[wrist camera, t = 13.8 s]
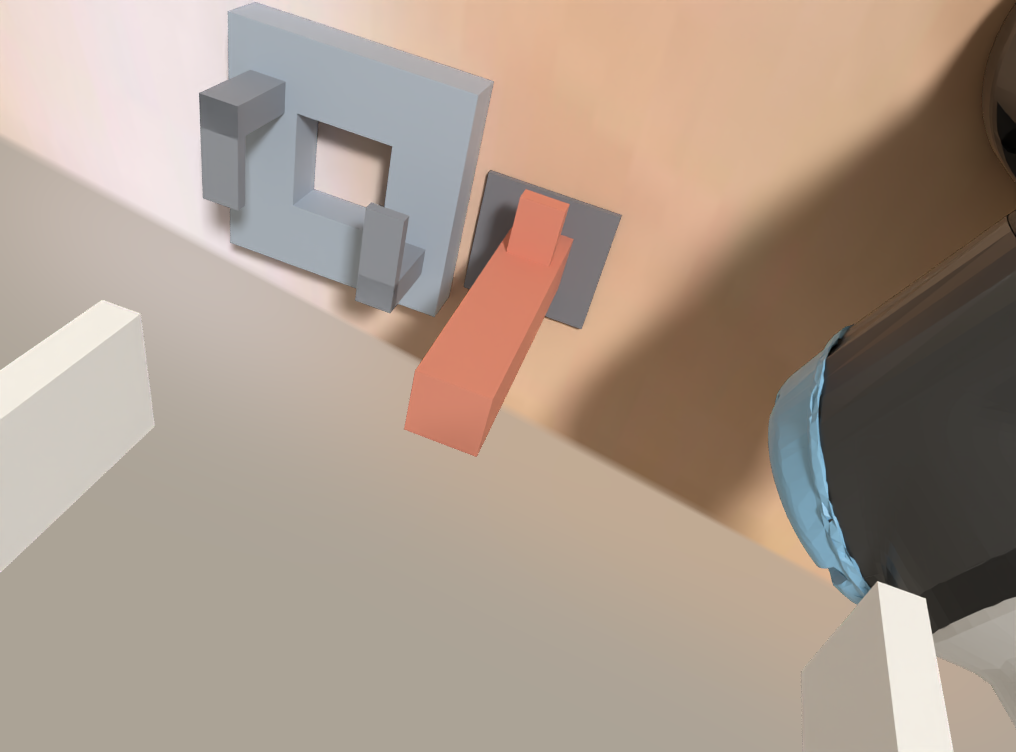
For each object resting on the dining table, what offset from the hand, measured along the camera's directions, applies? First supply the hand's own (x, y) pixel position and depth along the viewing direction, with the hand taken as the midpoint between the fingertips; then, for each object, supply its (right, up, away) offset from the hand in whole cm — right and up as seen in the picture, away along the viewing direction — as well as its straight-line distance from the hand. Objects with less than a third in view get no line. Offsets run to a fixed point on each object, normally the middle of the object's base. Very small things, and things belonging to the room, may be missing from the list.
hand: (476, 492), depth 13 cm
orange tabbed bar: (+3, +10, +38) cm, 40 cm away
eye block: (-10, +17, +38) cm, 43 cm away
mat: (+3, +11, +39) cm, 40 cm away
